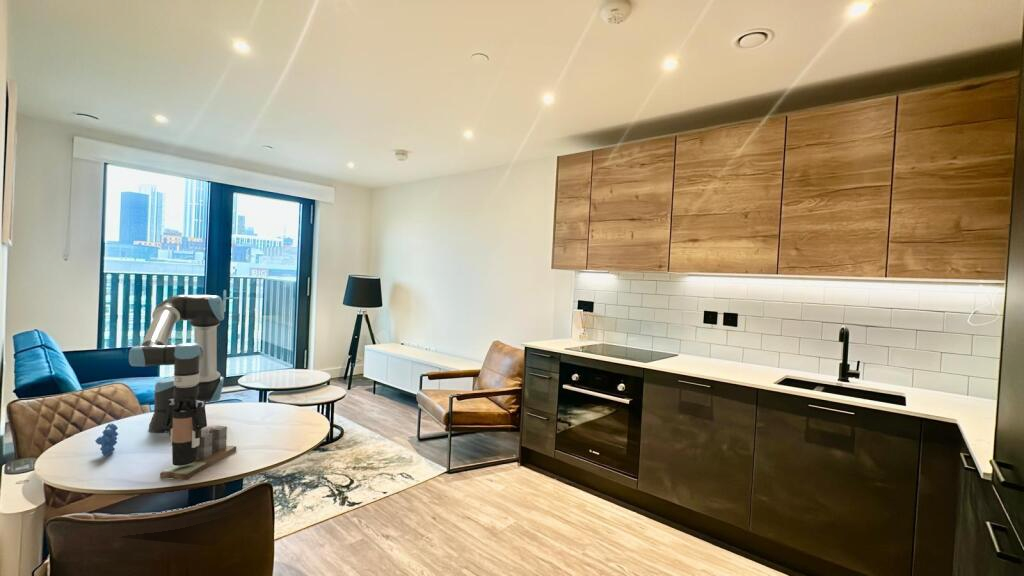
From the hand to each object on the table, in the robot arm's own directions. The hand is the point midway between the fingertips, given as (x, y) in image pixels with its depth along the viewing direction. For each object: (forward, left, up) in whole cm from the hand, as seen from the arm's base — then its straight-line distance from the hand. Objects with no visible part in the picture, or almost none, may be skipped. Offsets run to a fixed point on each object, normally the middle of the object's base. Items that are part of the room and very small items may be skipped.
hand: (185, 445), depth 162 cm
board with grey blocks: (0, +8, -10) cm, 13 cm away
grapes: (-41, +9, -11) cm, 43 cm away
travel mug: (0, 0, -6) cm, 6 cm away
